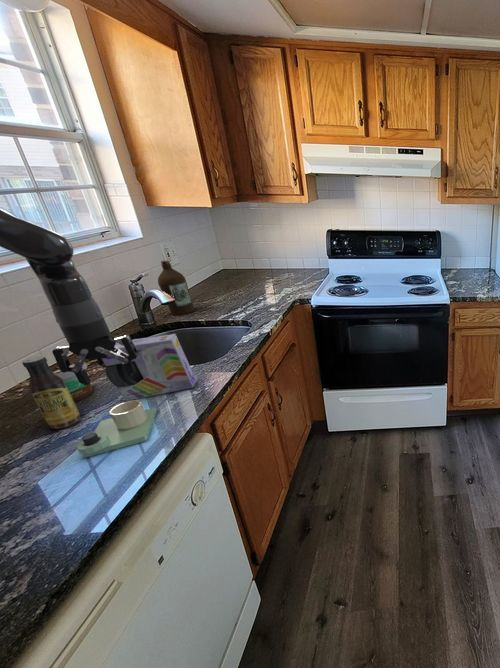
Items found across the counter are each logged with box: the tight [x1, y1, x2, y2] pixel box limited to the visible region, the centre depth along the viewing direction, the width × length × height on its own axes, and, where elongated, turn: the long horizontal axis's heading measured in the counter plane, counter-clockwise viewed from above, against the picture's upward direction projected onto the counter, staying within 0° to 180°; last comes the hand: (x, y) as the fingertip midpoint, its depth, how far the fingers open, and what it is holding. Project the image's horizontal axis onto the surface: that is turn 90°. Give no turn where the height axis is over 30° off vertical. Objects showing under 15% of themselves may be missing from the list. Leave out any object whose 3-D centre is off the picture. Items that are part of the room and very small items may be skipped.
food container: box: [52, 362, 94, 403], centre depth 109 cm, size 12×6×10 cm, turn 159°
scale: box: [76, 407, 157, 458], centre depth 94 cm, size 13×15×3 cm
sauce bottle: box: [21, 355, 81, 430], centre depth 95 cm, size 7×6×20 cm
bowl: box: [108, 399, 147, 429], centre depth 96 cm, size 6×6×5 cm
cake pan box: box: [101, 333, 197, 402], centre depth 109 cm, size 19×5×18 cm, turn 109°
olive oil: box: [157, 259, 195, 316], centre depth 172 cm, size 11×11×25 cm
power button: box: [81, 431, 100, 446], centre depth 88 cm, size 3×3×2 cm
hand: (109, 379), depth 91 cm, fingers open, 8 cm apart
